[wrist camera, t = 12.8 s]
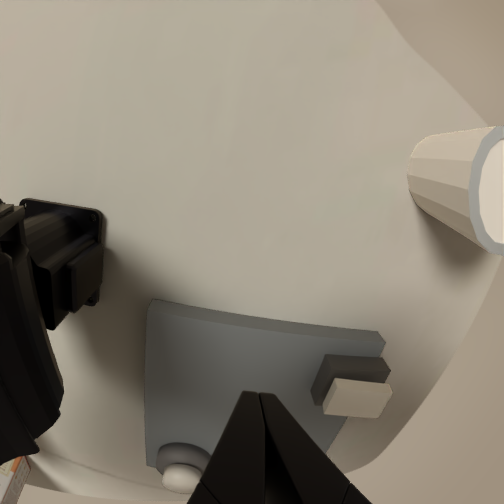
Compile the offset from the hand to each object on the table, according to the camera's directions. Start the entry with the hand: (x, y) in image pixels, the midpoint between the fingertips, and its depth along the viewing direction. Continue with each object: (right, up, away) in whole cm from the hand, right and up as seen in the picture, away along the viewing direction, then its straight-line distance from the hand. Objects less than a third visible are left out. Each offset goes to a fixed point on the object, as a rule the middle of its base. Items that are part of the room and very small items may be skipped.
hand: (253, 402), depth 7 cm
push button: (-6, -15, +14) cm, 21 cm away
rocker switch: (+7, -6, +11) cm, 14 cm away
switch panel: (0, -9, +16) cm, 18 cm away
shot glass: (+13, +9, +11) cm, 19 cm away
